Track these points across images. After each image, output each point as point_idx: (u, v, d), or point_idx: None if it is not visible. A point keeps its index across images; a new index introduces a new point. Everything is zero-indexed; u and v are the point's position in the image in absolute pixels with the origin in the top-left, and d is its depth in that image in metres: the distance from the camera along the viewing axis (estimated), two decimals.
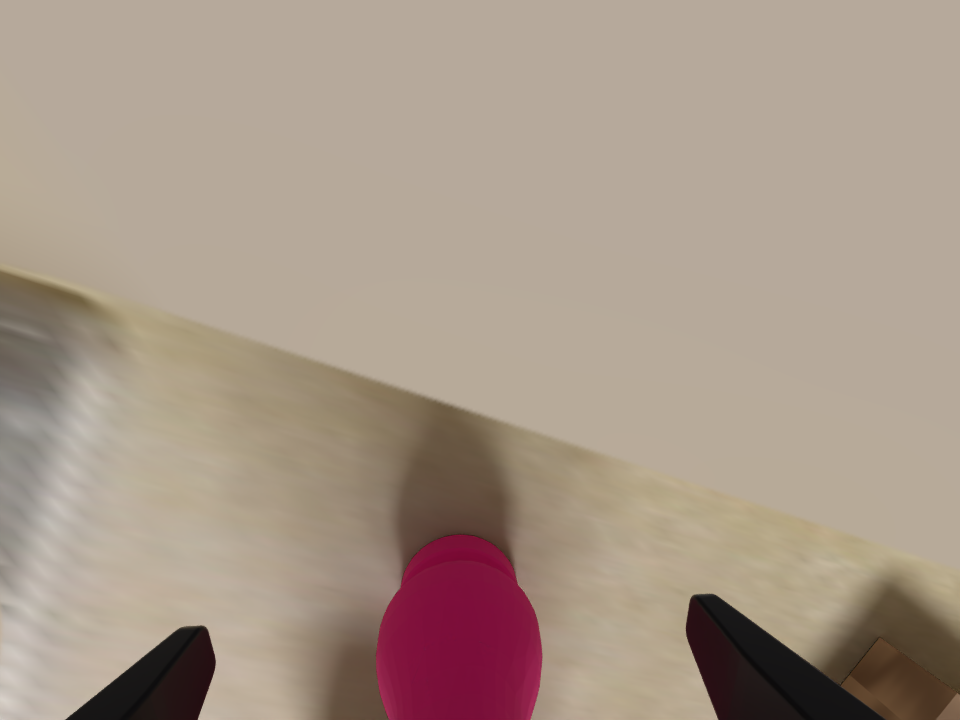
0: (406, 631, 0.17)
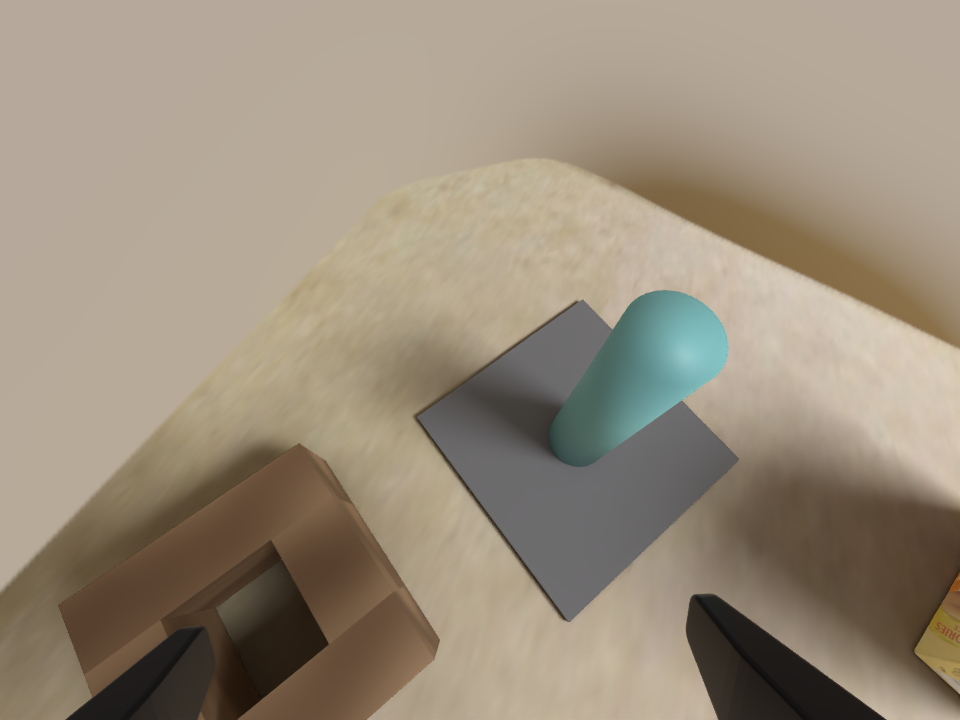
0: None
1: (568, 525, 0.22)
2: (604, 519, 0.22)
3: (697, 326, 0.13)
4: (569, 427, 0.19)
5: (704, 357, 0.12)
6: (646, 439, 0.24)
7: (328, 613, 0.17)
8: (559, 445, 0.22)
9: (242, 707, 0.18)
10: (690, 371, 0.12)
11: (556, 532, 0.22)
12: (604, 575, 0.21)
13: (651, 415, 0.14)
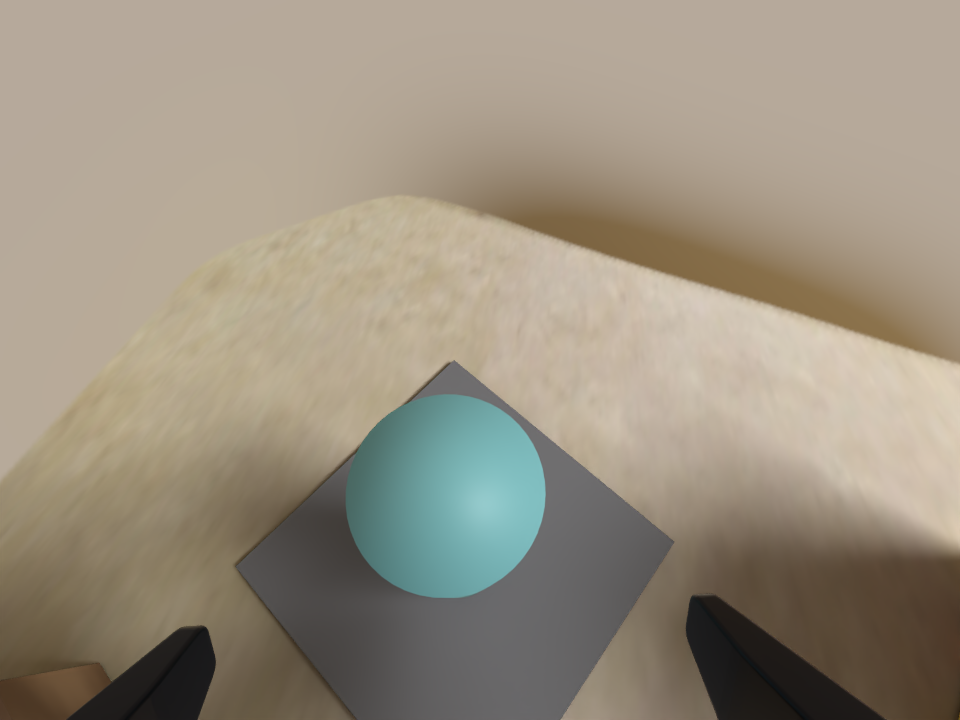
0: None
1: (457, 693, 0.15)
2: (507, 672, 0.16)
3: (489, 456, 0.07)
4: None
5: (502, 520, 0.07)
6: (552, 537, 0.18)
7: None
8: None
9: None
10: (475, 557, 0.06)
11: (441, 708, 0.15)
12: None
13: None
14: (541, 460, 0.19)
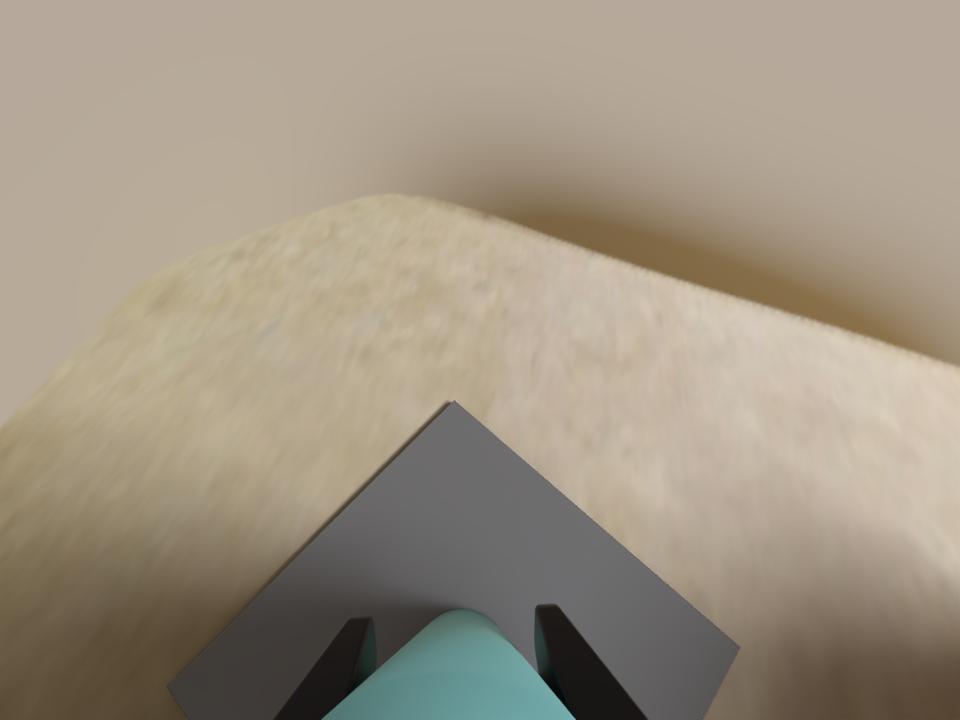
0: None
1: None
2: None
3: None
4: None
5: None
6: None
7: None
8: None
9: None
10: None
11: None
12: None
13: None
14: (565, 533, 0.15)
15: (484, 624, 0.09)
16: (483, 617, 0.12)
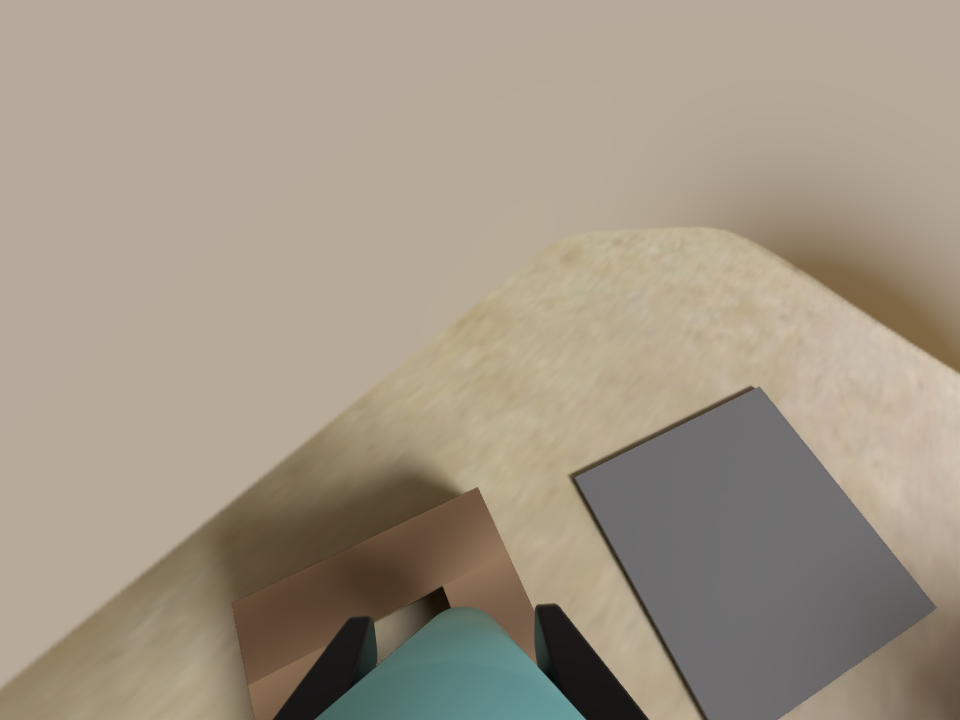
0: None
1: (731, 638, 0.20)
2: (774, 641, 0.20)
3: None
4: None
5: None
6: (826, 559, 0.21)
7: None
8: None
9: None
10: None
11: (718, 643, 0.20)
12: (771, 708, 0.19)
13: None
14: (825, 495, 0.23)
15: (485, 621, 0.09)
16: (484, 614, 0.12)
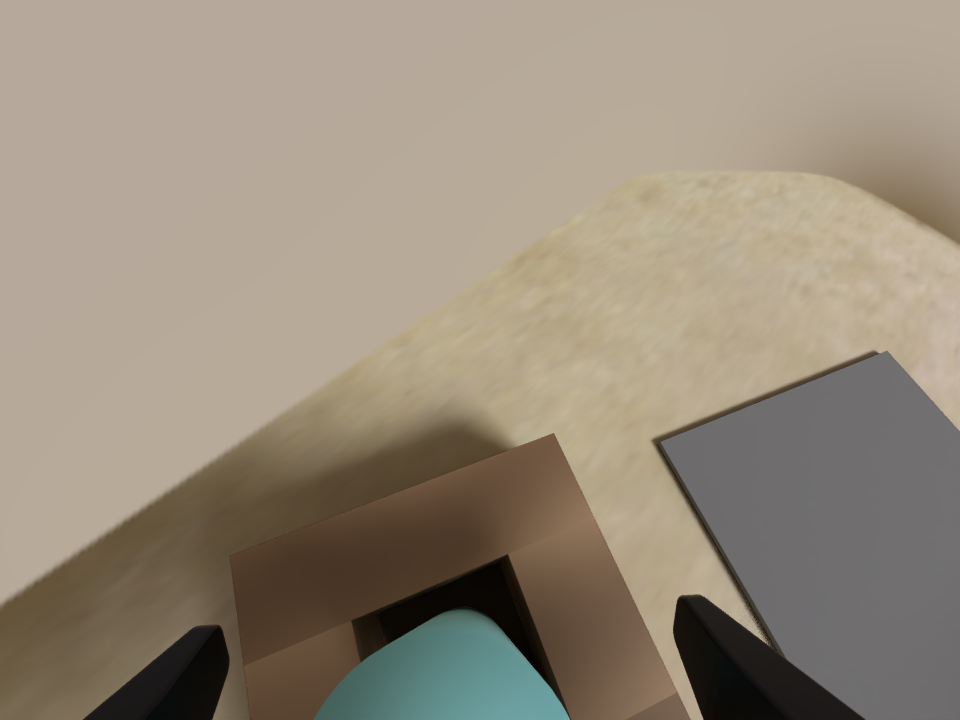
0: None
1: (872, 657, 0.15)
2: (929, 666, 0.15)
3: None
4: None
5: None
6: None
7: (581, 692, 0.11)
8: None
9: None
10: None
11: (855, 662, 0.15)
12: None
13: None
14: None
15: (479, 615, 0.10)
16: (480, 612, 0.13)
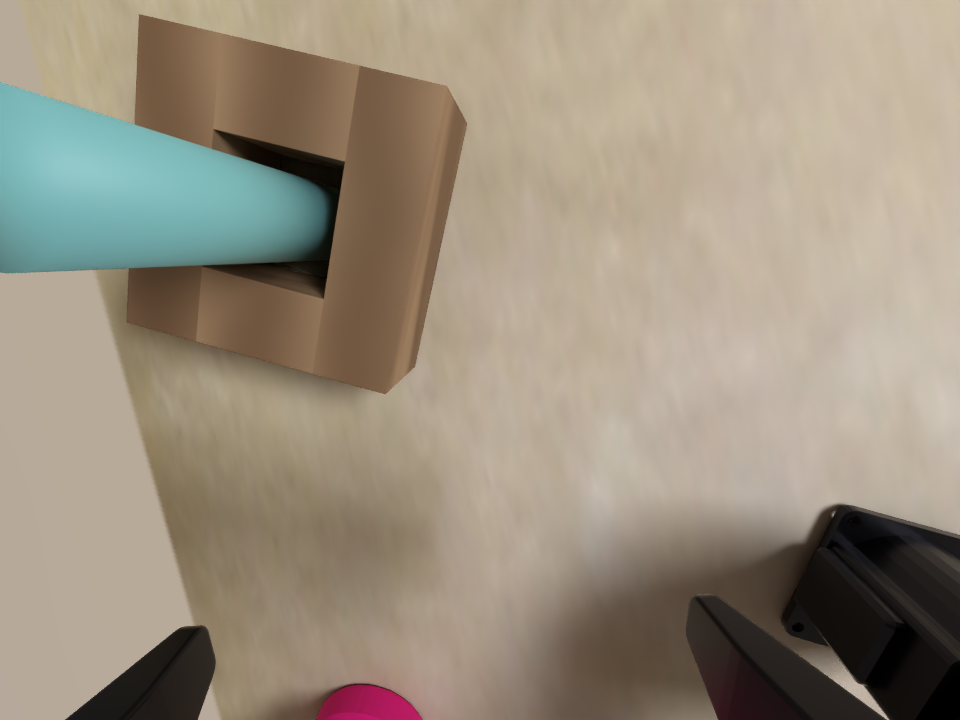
0: None
1: None
2: None
3: None
4: (267, 262, 0.15)
5: (29, 150, 0.07)
6: None
7: (321, 139, 0.14)
8: (313, 260, 0.18)
9: None
10: (48, 191, 0.07)
11: None
12: None
13: (196, 219, 0.10)
14: None
15: None
16: None
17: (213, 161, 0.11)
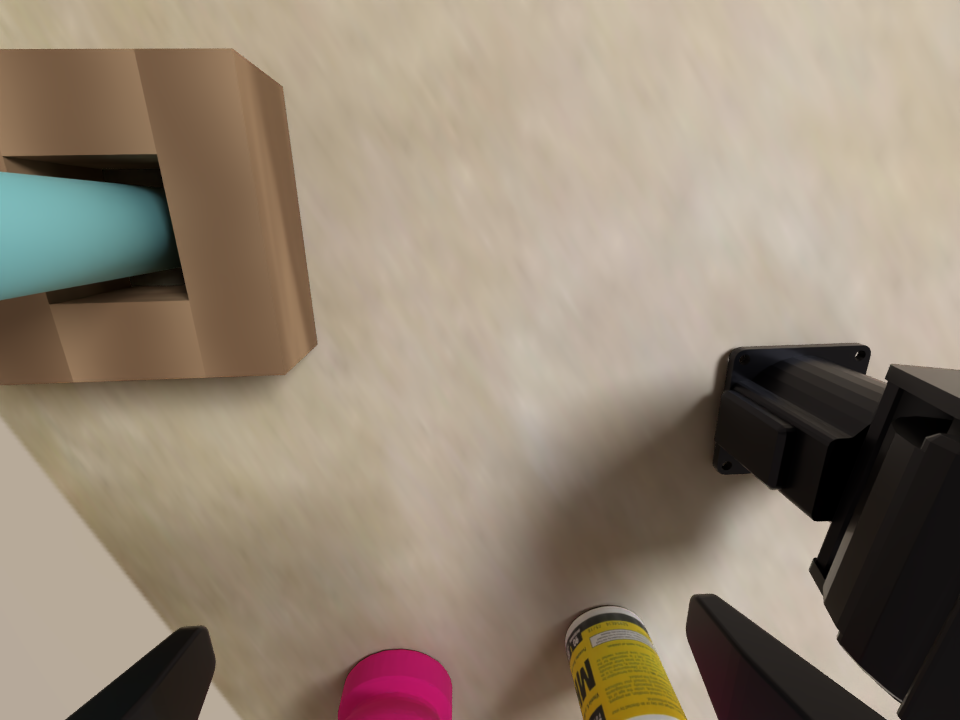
0: None
1: None
2: None
3: None
4: (114, 278, 0.14)
5: None
6: None
7: (122, 136, 0.14)
8: (172, 267, 0.17)
9: None
10: None
11: None
12: None
13: None
14: None
15: None
16: None
17: None
